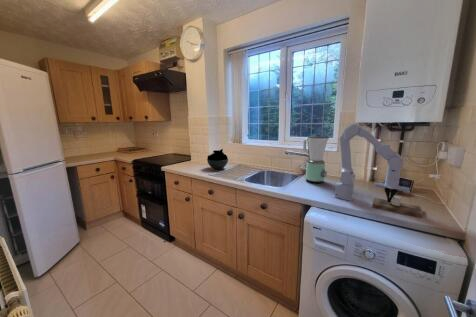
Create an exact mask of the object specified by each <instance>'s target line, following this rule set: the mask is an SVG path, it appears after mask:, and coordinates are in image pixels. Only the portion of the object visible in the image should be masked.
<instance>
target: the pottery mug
mask: <svg viewBox="0 0 476 317" xmlns="http://www.w3.org/2000/svg"><path fill="white" fill-rule="evenodd" d="M382 183H385V181H383V182H382ZM399 186H402V187H406V185H405V184H404V183H403V182H401V181H399ZM404 192H405V191H399V190H397V193H396V194H401V193H404Z"/></svg>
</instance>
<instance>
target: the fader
mask: <svg viewBox="0 0 476 317" xmlns="http://www.w3.org/2000/svg"><path fill="white" fill-rule="evenodd" d="M391 201H392V205H396V206H400V203H401V196H395V195H394V196H393V198H392V200H391Z"/></svg>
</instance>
